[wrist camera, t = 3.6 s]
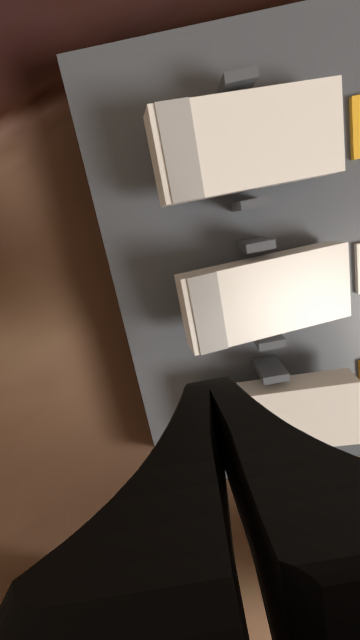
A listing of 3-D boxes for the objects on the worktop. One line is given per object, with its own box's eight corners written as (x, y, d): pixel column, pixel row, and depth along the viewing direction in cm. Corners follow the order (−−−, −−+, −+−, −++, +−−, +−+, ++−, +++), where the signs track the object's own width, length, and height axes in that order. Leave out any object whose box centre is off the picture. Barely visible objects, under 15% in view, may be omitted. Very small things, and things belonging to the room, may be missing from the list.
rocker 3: (347, 367, 13) (362, 382, 12) (350, 424, 14) (364, 444, 13) (199, 387, 14) (199, 404, 13) (209, 441, 15) (210, 461, 14)
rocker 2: (327, 240, 13) (349, 242, 12) (331, 308, 14) (352, 316, 12) (174, 274, 12) (180, 279, 11) (187, 344, 13) (195, 356, 12)
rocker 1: (318, 90, 11) (343, 73, 10) (323, 175, 12) (346, 170, 11) (143, 117, 10) (147, 103, 9) (160, 207, 11) (166, 204, 10)
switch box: (370, 26, 14) (472, -72, 9) (377, 411, 19) (444, 474, 14) (80, 87, 14) (35, 24, 9) (166, 448, 19) (164, 521, 15)
